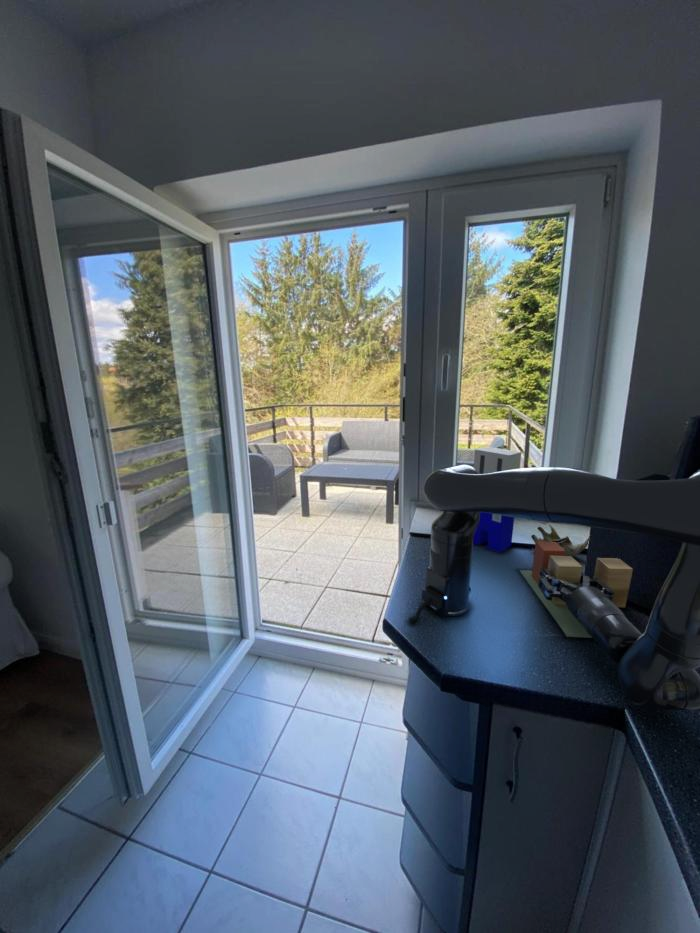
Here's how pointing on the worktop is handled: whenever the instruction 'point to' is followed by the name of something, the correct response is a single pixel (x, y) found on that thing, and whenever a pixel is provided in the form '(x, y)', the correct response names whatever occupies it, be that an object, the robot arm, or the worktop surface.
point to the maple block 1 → (564, 572)
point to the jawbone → (560, 541)
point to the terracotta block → (544, 556)
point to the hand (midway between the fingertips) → (557, 571)
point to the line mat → (558, 611)
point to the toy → (493, 525)
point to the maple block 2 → (615, 577)
